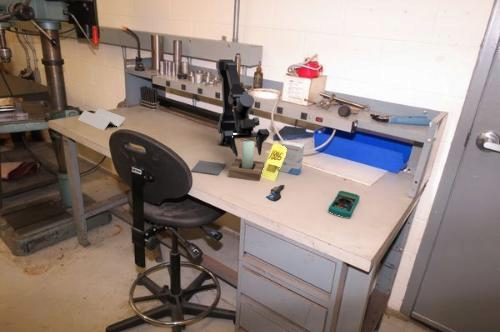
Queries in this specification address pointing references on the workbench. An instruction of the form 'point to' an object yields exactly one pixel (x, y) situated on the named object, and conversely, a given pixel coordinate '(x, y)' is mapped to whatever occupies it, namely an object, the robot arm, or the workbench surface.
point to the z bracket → (101, 118)
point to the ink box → (293, 158)
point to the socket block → (246, 170)
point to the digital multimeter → (344, 204)
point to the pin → (248, 154)
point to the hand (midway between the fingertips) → (248, 155)
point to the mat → (208, 167)
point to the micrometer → (275, 193)
